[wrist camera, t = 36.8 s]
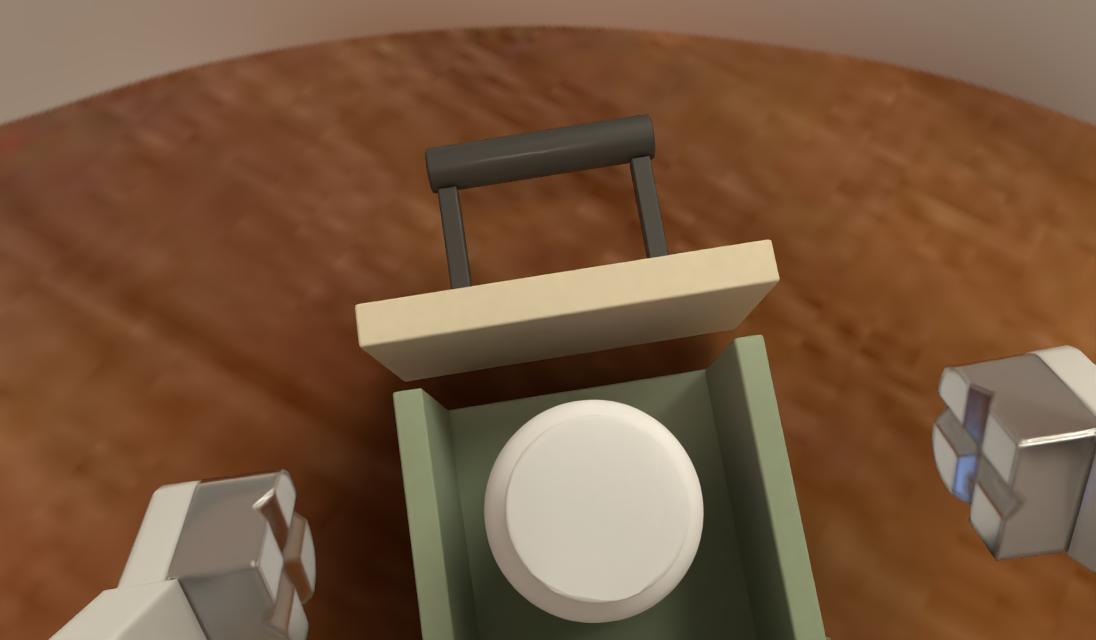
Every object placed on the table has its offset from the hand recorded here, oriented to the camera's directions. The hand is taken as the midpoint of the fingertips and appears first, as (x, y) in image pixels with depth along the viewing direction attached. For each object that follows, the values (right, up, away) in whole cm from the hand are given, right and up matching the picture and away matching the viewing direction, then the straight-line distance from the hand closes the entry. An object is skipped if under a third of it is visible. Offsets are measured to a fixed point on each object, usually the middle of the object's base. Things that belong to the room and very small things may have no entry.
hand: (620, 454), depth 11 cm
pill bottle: (0, -4, +18) cm, 18 cm away
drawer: (0, -3, +19) cm, 19 cm away
